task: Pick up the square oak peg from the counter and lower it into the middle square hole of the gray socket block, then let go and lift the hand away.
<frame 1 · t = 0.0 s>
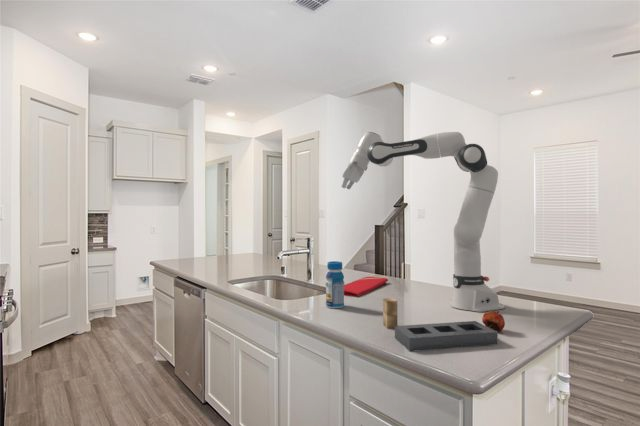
hand: (345, 188, 181), 54 cm above the worktop, tool tilted 30°, fingers open, 8 cm apart
pomegranate: (493, 331, 130), on the worktop
gray socket block: (444, 341, 120), on the worktop
oak peg: (390, 326, 136), on the worktop
beverage bottle: (335, 306, 165), on the worktop
dish drying mat: (361, 289, 204), on the worktop
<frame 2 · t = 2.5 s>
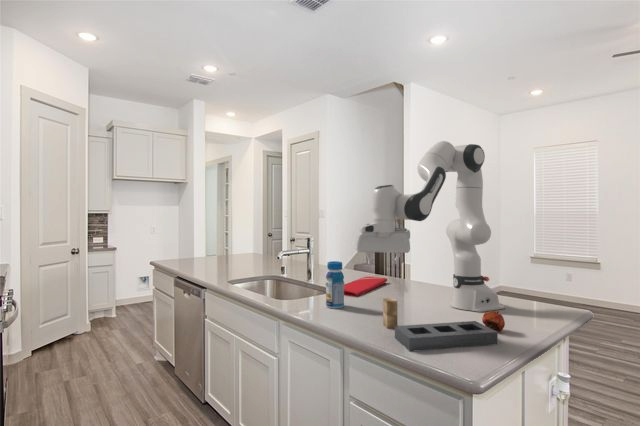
hand: (382, 264, 138), 23 cm above the worktop, tool pointing down, fingers open, 8 cm apart
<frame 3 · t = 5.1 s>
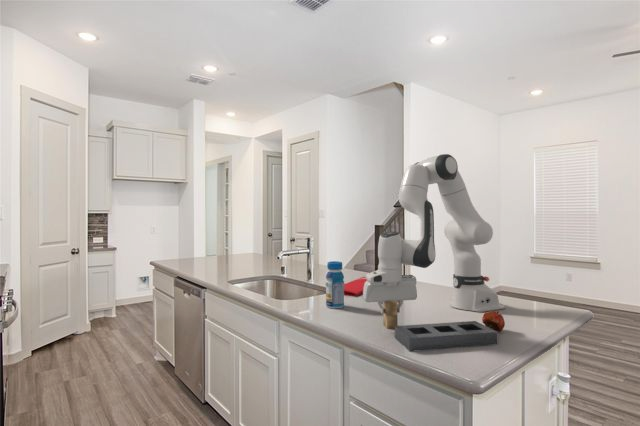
hand: (390, 312, 136), 5 cm above the worktop, tool pointing down, fingers closed on oak peg, 4 cm apart
oak peg: (390, 326, 136), on the worktop, touching gripper
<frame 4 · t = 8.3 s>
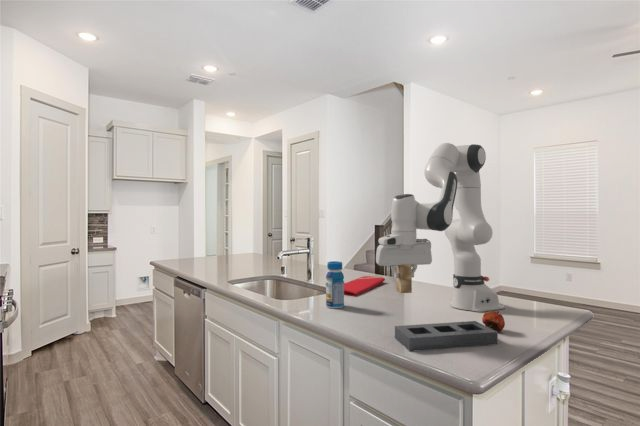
hand: (404, 277, 132), 19 cm above the worktop, tool pointing down, fingers closed on oak peg, 4 cm apart
oak peg: (404, 291, 132), point 14 cm above the worktop, touching gripper
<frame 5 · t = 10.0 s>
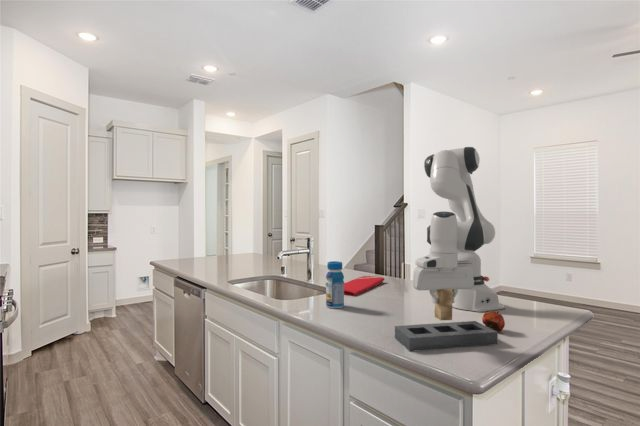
hand: (443, 302, 120), 13 cm above the worktop, tool pointing down, fingers closed on oak peg, 4 cm apart
oak peg: (443, 318, 120), point 8 cm above the worktop, touching gripper
when the fingers open (6 cm above the worktop, at t = 11.6 s): oak peg stays where it is, resting in gray socket block.
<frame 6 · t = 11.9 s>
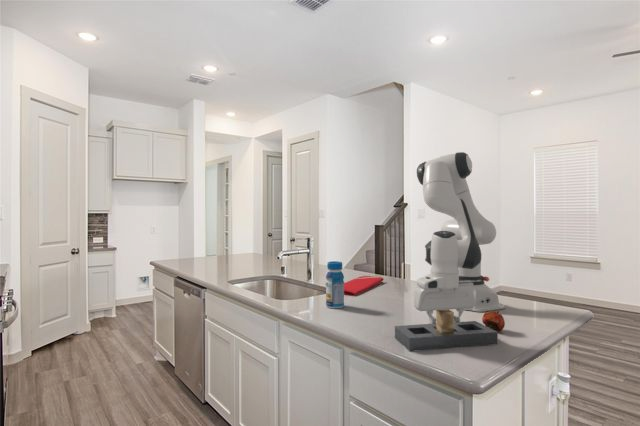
hand: (444, 322, 120), 6 cm above the worktop, tool pointing down, fingers open, 7 cm apart
oak peg: (445, 341, 120), resting in gray socket block
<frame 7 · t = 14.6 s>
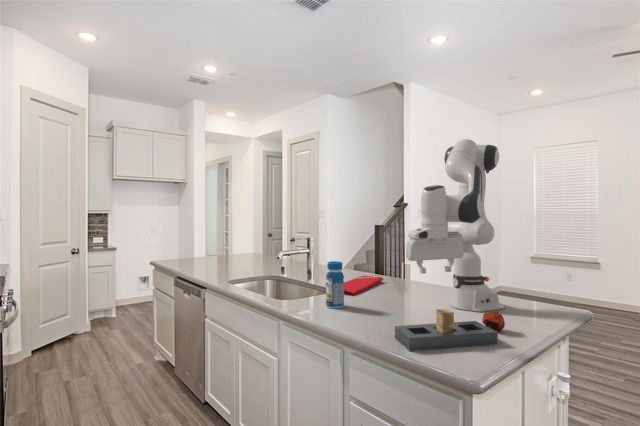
hand: (435, 272, 126), 22 cm above the worktop, tool pointing down, fingers open, 8 cm apart
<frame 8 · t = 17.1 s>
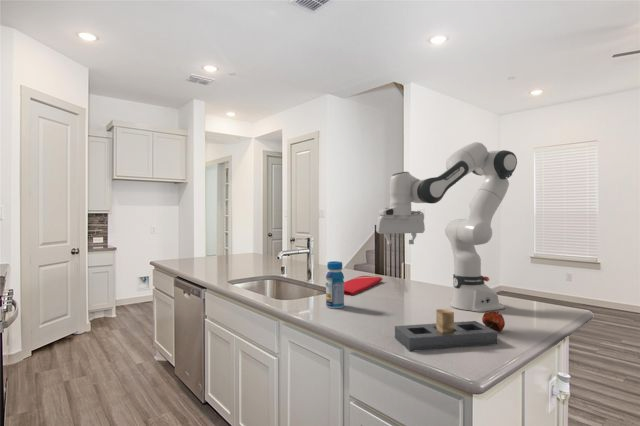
hand: (400, 244, 151), 29 cm above the worktop, tool pointing down, fingers open, 8 cm apart
at the end: oak peg 0.1 cm off-centre on the gray socket block, point 0.0 cm above the gray socket block's base; oak peg tilted 0°; the gripper is holding nothing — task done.
